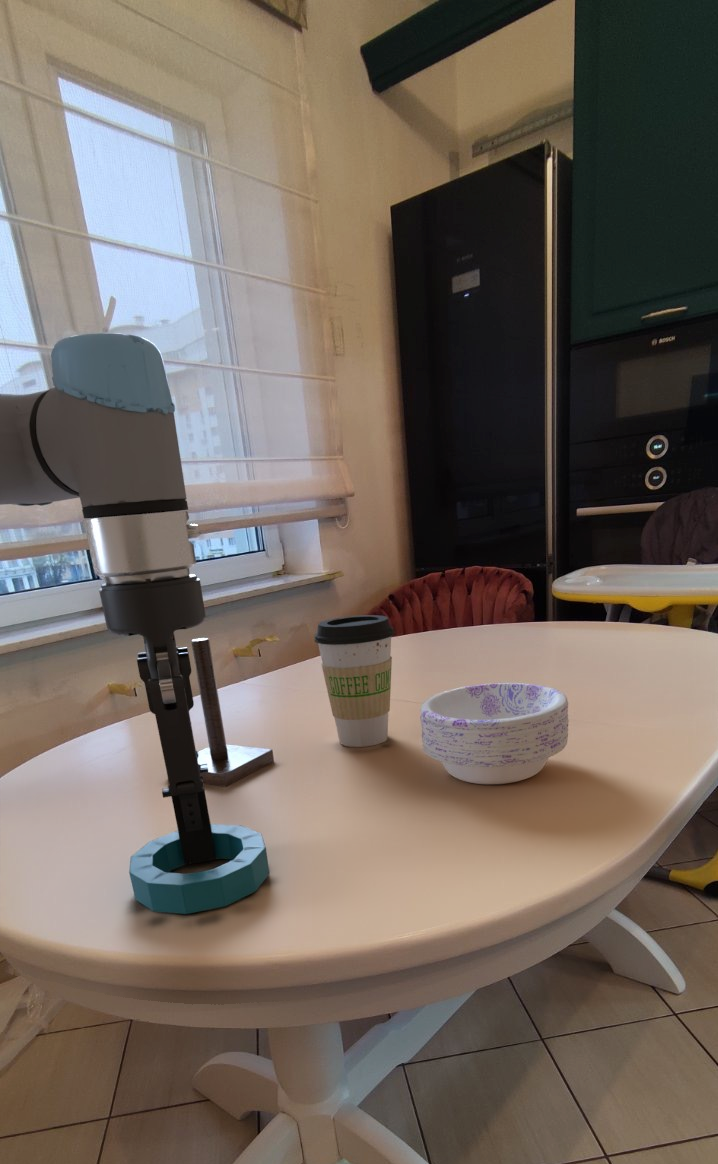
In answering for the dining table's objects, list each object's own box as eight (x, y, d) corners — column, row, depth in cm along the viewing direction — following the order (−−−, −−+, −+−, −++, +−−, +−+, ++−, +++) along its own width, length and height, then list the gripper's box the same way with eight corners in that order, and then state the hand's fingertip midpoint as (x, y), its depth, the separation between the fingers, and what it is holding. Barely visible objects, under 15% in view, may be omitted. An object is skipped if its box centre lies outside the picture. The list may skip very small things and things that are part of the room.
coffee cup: (358, 756, 87) (346, 630, 81) (310, 742, 94) (296, 625, 88) (417, 736, 92) (410, 616, 87) (368, 724, 99) (358, 612, 94)
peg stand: (167, 778, 86) (141, 646, 80) (218, 754, 93) (197, 632, 87) (225, 786, 81) (202, 647, 75) (274, 760, 88) (256, 632, 82)
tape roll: (109, 908, 57) (102, 879, 56) (177, 847, 66) (172, 822, 65) (234, 918, 54) (229, 888, 53) (286, 852, 63) (283, 826, 62)
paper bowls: (408, 793, 74) (402, 718, 71) (441, 747, 87) (438, 682, 84) (561, 800, 69) (562, 719, 66) (572, 749, 82) (573, 680, 79)
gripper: (203, 577, 49) (251, 884, 58) (194, 565, 62) (234, 815, 71) (87, 589, 47) (155, 902, 56) (104, 574, 61) (156, 828, 70)
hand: (199, 853), depth 64 cm, fingers closed on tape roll, 2 cm apart
